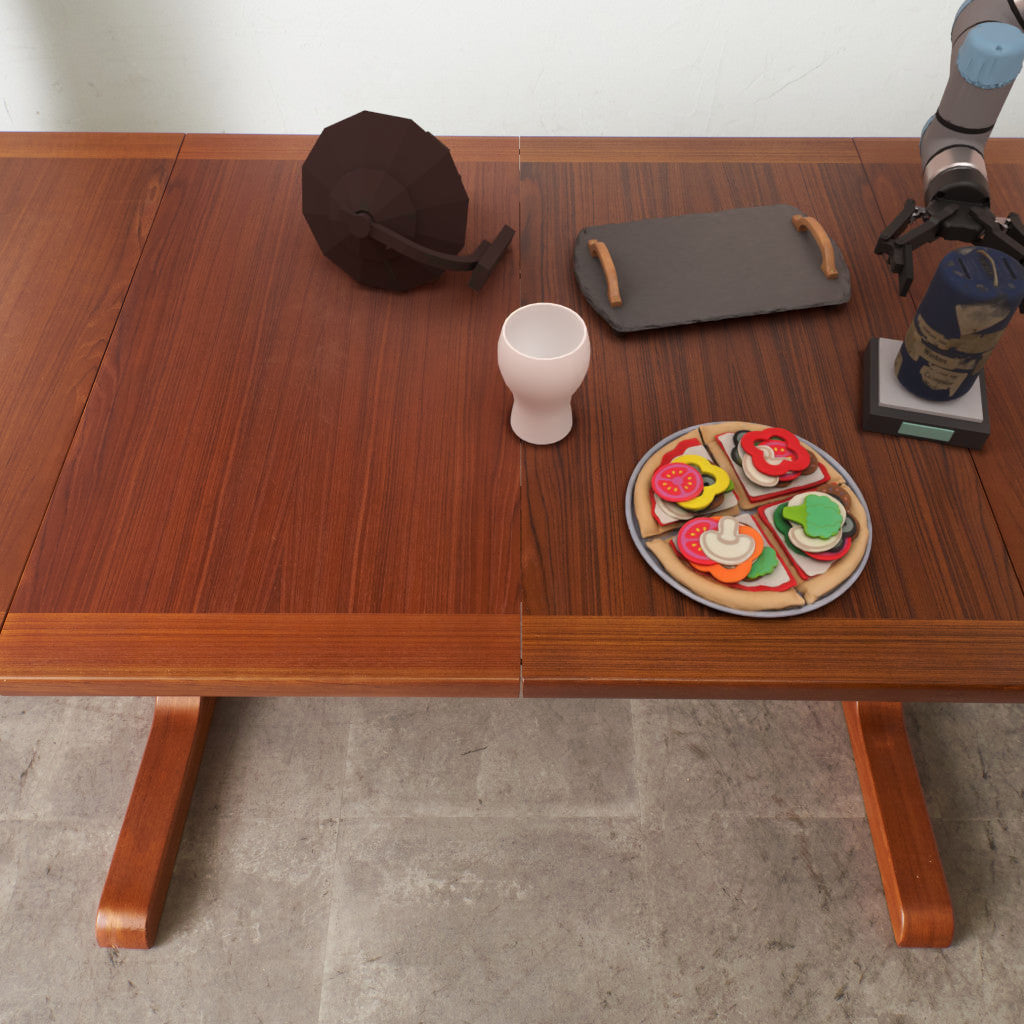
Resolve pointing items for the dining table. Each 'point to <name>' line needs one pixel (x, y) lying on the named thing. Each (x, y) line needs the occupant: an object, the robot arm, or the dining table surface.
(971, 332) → the canister
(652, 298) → the serving tray
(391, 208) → the dark brown piece
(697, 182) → the dining table surface
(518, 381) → the cup
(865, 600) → the dining table surface
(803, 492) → the toy pizza
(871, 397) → the scale
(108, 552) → the dining table surface
